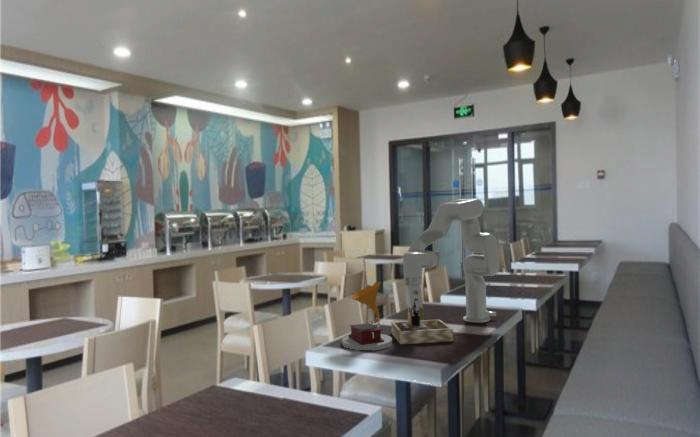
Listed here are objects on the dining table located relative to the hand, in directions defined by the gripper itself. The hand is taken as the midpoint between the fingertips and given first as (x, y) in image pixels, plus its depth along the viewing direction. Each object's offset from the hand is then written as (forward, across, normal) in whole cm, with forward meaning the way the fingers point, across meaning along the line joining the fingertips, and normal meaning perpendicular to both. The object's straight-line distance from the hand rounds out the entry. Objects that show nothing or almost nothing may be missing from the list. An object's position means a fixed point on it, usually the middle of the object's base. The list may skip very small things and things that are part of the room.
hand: (413, 323), depth 206 cm
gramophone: (+6, -5, +21) cm, 23 cm away
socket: (+6, 0, 0) cm, 6 cm away
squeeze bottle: (+6, +25, -7) cm, 27 cm away
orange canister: (+5, 0, 0) cm, 5 cm away
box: (+6, 0, -3) cm, 7 cm away
